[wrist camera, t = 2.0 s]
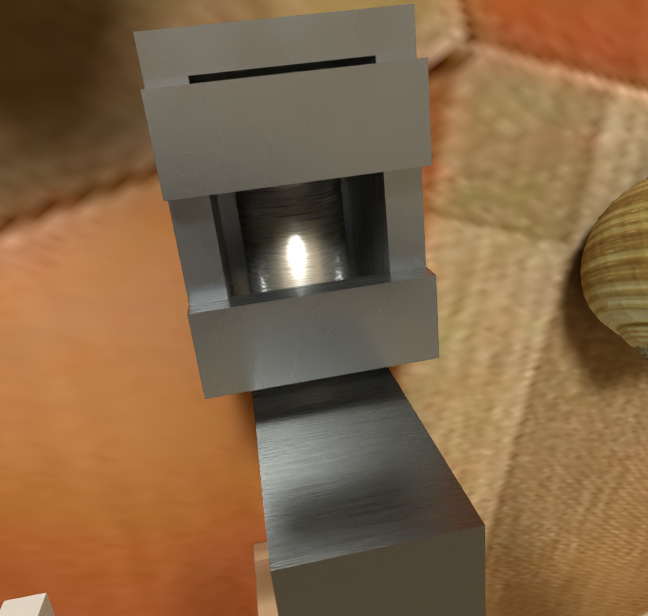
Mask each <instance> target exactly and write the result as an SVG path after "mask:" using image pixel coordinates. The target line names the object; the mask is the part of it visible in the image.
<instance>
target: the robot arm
mask: <svg viewBox="0 0 648 616" xmlns="http://www.w3.org/2000/svg"><path fill="white" fill-rule="evenodd" d="M0 616H55V614H54V611H53V609H52V606H51V604H50V601H49V598H48V596H47V593H42V594H37V595H32V596H27V597H22V598H17V599H12V600H7V601H4V603H3V605H2V607H1V609H0Z"/></svg>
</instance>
